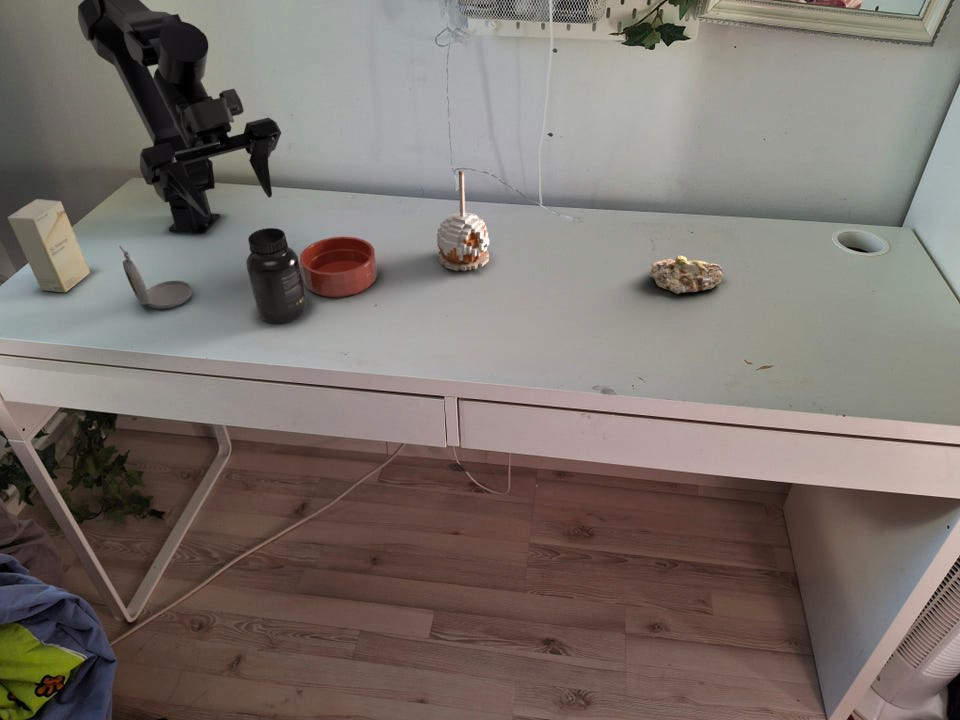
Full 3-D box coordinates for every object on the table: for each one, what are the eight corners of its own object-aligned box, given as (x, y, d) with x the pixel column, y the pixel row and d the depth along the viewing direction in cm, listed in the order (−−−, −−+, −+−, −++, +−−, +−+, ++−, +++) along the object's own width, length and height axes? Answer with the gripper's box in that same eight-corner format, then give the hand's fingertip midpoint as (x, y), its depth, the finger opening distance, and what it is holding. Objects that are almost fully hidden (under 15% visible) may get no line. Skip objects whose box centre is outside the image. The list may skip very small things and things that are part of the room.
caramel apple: (473, 278, 108) (471, 186, 99) (429, 265, 111) (423, 175, 102) (497, 255, 114) (497, 165, 104) (455, 244, 117) (452, 155, 107)
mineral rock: (655, 283, 102) (651, 243, 107) (649, 302, 106) (646, 263, 110) (731, 287, 102) (724, 247, 106) (722, 307, 105) (716, 267, 110)
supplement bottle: (304, 293, 106) (289, 220, 98) (310, 319, 100) (295, 243, 93) (256, 302, 104) (238, 228, 96) (261, 328, 99) (241, 252, 91)
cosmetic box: (66, 294, 106) (33, 220, 99) (39, 291, 107) (5, 217, 100) (92, 272, 111) (62, 200, 104) (66, 269, 112) (35, 197, 104)
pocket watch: (202, 290, 107) (183, 230, 100) (165, 321, 100) (143, 259, 94) (157, 281, 109) (136, 222, 103) (118, 311, 103) (94, 250, 96)
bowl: (319, 257, 114) (315, 234, 111) (385, 263, 112) (383, 239, 110) (293, 295, 105) (288, 271, 103) (365, 301, 104) (362, 277, 101)
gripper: (118, 86, 87) (175, 201, 87) (261, 57, 96) (313, 161, 96) (119, 131, 97) (171, 234, 97) (249, 100, 105) (296, 195, 105)
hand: (239, 205), depth 98 cm, fingers open, 9 cm apart
